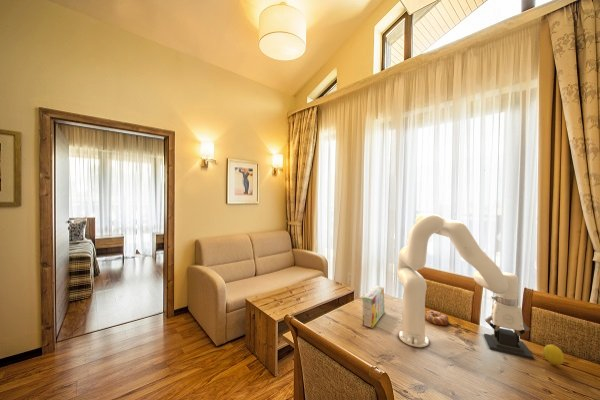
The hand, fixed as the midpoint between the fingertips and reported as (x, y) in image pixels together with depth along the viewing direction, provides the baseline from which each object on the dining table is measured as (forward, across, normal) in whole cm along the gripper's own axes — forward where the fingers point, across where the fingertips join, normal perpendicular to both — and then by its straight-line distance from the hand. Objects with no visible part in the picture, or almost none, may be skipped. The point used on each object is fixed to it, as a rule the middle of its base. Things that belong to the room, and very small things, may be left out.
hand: (506, 340), depth 104 cm
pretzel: (+3, -27, +11) cm, 29 cm away
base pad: (+3, 0, 0) cm, 3 cm away
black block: (+1, 0, 0) cm, 1 cm away
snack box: (+3, -57, -3) cm, 57 cm away
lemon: (+3, +13, -6) cm, 15 cm away
